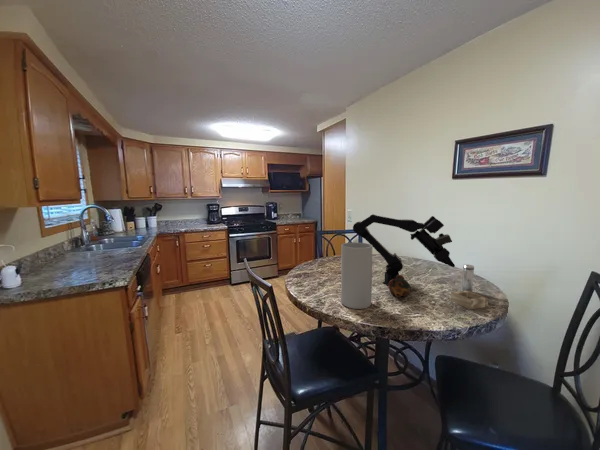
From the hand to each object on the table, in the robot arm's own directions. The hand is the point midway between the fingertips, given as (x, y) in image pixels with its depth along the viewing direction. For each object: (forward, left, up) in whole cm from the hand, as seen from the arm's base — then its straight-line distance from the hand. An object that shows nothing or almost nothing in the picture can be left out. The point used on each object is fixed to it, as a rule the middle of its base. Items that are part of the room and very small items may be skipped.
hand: (451, 264), depth 114 cm
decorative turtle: (-27, +1, -13) cm, 30 cm away
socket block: (-5, -14, -13) cm, 20 cm away
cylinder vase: (-50, -2, -13) cm, 52 cm away
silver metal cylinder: (+6, -4, -13) cm, 15 cm away
